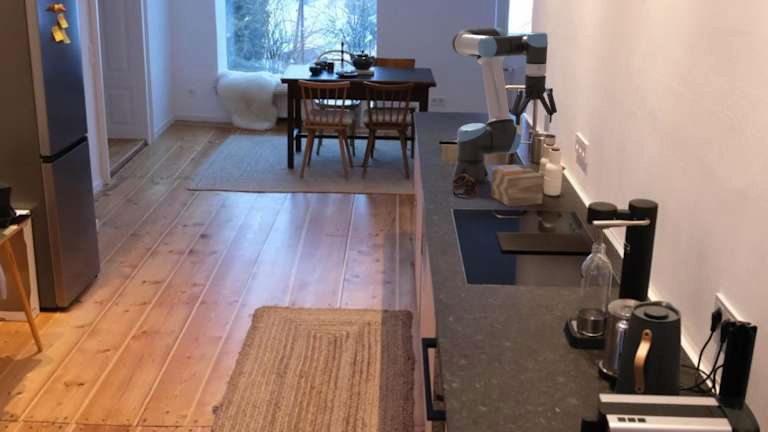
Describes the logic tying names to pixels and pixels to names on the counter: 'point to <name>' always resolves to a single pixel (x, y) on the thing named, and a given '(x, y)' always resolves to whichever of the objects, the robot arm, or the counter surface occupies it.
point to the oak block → (517, 187)
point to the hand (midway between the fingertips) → (533, 132)
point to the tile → (510, 170)
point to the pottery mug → (464, 183)
